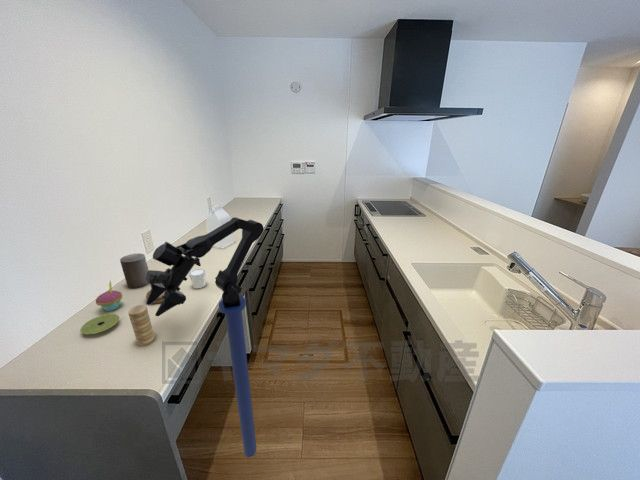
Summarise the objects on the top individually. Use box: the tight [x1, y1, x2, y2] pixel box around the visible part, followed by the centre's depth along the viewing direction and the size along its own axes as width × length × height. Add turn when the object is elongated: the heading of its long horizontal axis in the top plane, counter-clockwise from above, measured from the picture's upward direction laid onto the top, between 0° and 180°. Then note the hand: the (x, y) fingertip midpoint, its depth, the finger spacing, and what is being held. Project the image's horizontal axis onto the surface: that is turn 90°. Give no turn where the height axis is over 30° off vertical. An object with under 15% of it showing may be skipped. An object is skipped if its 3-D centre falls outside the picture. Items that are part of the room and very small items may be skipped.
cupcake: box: [95, 280, 123, 312], centre depth 106 cm, size 9×8×12 cm
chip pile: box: [145, 289, 164, 305], centre depth 114 cm, size 10×10×3 cm
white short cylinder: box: [188, 268, 207, 289], centre depth 124 cm, size 7×7×7 cm
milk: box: [205, 204, 235, 250], centre depth 169 cm, size 12×12×26 cm
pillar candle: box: [119, 252, 150, 289], centre depth 124 cm, size 10×10×15 cm
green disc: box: [80, 313, 120, 335], centre depth 97 cm, size 11×11×2 cm
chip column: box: [127, 304, 156, 346], centre depth 89 cm, size 5×5×13 cm
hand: (151, 309), depth 90 cm, fingers open, 9 cm apart
